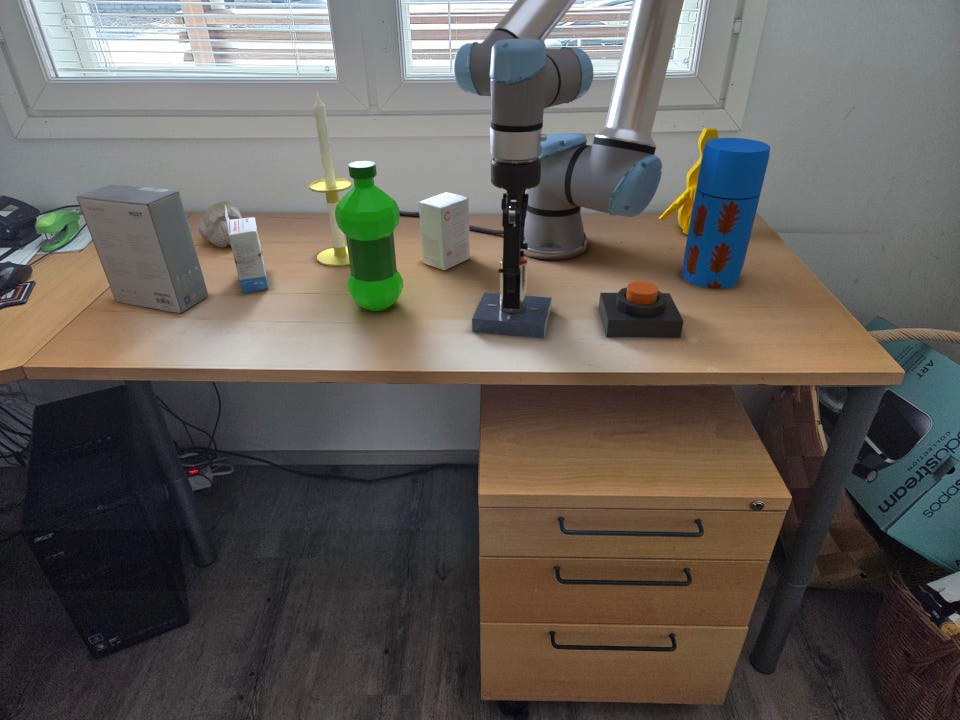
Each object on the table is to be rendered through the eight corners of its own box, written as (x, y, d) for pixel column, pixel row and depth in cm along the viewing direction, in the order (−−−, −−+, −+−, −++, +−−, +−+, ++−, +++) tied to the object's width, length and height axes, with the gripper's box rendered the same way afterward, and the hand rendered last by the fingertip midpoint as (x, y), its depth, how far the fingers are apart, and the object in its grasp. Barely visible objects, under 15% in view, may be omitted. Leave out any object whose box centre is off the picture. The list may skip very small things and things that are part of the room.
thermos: (743, 291, 114) (776, 153, 100) (683, 287, 115) (708, 151, 102) (734, 268, 123) (764, 138, 109) (679, 264, 124) (702, 136, 111)
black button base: (606, 337, 100) (609, 310, 97) (598, 308, 109) (601, 283, 106) (680, 338, 100) (685, 310, 97) (666, 309, 108) (671, 283, 105)
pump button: (628, 305, 100) (630, 294, 99) (623, 291, 104) (625, 280, 103) (659, 305, 99) (661, 294, 98) (653, 291, 104) (655, 280, 103)
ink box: (269, 290, 116) (253, 214, 108) (242, 294, 115) (223, 218, 107) (266, 272, 123) (251, 200, 115) (240, 276, 122) (223, 203, 114)
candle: (306, 262, 127) (277, 93, 110) (334, 245, 135) (310, 85, 117) (348, 269, 124) (324, 97, 106) (373, 251, 132) (355, 88, 114)
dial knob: (497, 312, 102) (498, 263, 98) (502, 300, 106) (502, 252, 101) (523, 314, 102) (525, 265, 97) (527, 302, 105) (529, 254, 101)
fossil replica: (223, 256, 131) (261, 244, 138) (218, 218, 127) (258, 208, 134) (187, 240, 136) (225, 230, 143) (181, 203, 132) (221, 195, 139)
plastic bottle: (360, 323, 105) (340, 176, 92) (342, 298, 113) (322, 160, 99) (414, 310, 109) (403, 167, 95) (393, 287, 117) (380, 152, 103)
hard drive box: (210, 296, 114) (181, 190, 103) (181, 315, 108) (147, 204, 97) (145, 285, 119) (110, 182, 108) (113, 302, 113) (73, 195, 102)
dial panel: (472, 331, 102) (471, 317, 101) (484, 304, 110) (484, 291, 109) (543, 338, 100) (544, 324, 99) (550, 310, 108) (551, 296, 107)
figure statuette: (658, 236, 137) (673, 134, 126) (652, 224, 144) (666, 126, 132) (739, 237, 136) (762, 134, 124) (729, 225, 143) (751, 126, 131)
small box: (448, 251, 131) (446, 191, 124) (470, 258, 128) (469, 197, 121) (421, 263, 126) (417, 201, 119) (444, 271, 123) (441, 207, 116)
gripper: (538, 177, 82) (532, 327, 94) (543, 141, 98) (538, 272, 111) (482, 176, 82) (483, 324, 95) (497, 140, 99) (496, 271, 112)
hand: (513, 296), depth 103 cm, fingers open, 7 cm apart
